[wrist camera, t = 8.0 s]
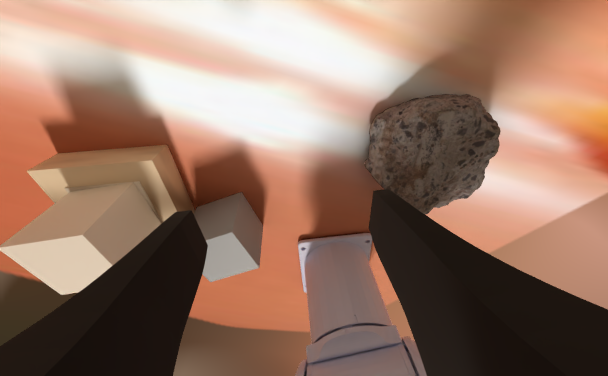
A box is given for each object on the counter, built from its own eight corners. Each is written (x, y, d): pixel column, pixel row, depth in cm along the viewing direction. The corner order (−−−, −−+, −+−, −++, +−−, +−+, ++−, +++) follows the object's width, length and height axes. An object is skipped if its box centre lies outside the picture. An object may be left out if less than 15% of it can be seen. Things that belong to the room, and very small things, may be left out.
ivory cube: (164, 227, 19) (131, 284, 14) (109, 236, 19) (61, 294, 14) (133, 182, 16) (82, 235, 12) (69, 191, 16) (-3, 248, 12)
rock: (419, 203, 23) (442, 232, 20) (340, 149, 19) (353, 175, 16) (501, 134, 20) (547, 156, 16) (426, 48, 15) (467, 53, 12)
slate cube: (263, 225, 23) (259, 267, 19) (222, 238, 23) (210, 282, 19) (241, 191, 20) (232, 232, 16) (197, 206, 21) (177, 249, 17)
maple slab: (201, 218, 22) (191, 242, 20) (117, 226, 22) (96, 252, 19) (169, 141, 18) (151, 161, 15) (62, 151, 17) (25, 171, 15)
